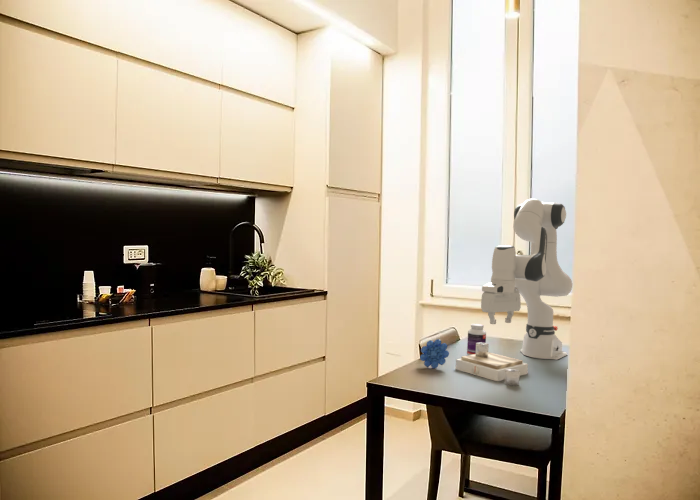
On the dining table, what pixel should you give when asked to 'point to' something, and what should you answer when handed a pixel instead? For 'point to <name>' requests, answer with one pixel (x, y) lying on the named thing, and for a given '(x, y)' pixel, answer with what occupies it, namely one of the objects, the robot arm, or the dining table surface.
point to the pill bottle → (475, 337)
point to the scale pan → (492, 360)
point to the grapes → (434, 353)
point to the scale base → (488, 370)
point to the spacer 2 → (512, 377)
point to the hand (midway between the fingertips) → (500, 323)
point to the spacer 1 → (482, 349)
